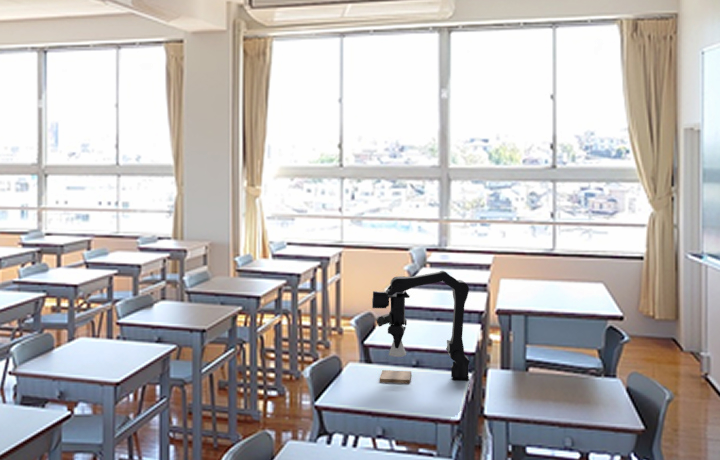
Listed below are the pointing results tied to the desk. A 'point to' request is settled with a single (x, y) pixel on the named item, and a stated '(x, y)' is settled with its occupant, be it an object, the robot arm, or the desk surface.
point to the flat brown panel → (395, 376)
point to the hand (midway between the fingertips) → (397, 346)
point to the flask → (397, 350)
